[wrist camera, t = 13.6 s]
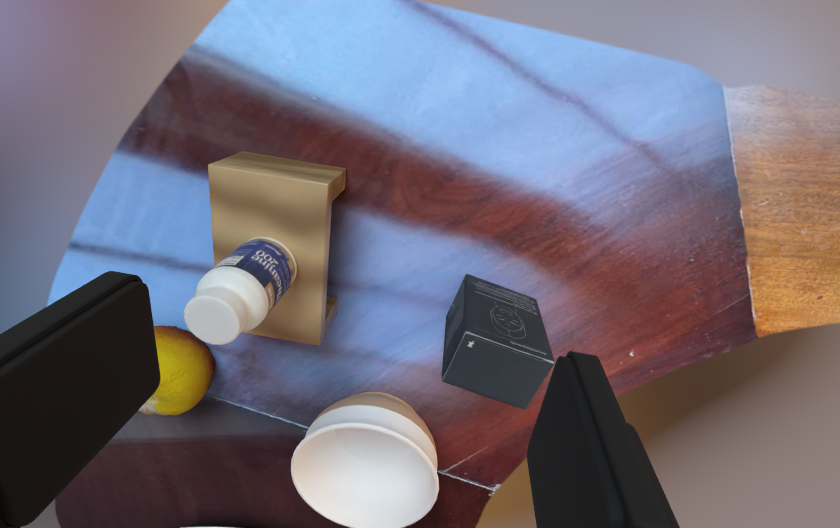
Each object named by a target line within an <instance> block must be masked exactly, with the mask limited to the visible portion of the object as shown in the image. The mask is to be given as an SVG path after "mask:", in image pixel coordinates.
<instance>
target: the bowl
mask: <svg viewBox="0 0 840 528" xmlns="http://www.w3.org/2000/svg"><path fill="white" fill-rule="evenodd" d="M291 474H292V478H293V482H294V485H295V487H296V489H297V491H298V493H299V494H300V495H301V497H302V498H303V499H304V500H305V502H306V503H307V504H308V505H310V506H311V507H312V508H313V509H314V510H315V511H317V512H318V513H320V514H321V515H323V516H324V517H326V518H328V519H330V520H332V521H334V522H336V523H338V524H341V525H344V526H347V527H350V528H403V527H406V526H408V525H411V524H413V523H415V522H417V521H418V520H420V519H421V518H423V517H424V516H425V515H426V514H427V513H428V512H429V511H430V510H431V508H432V507H433V505H434V503H435V501H436V500H437V496H438V492H439V479H438V476H437V455H436V446H435V443H434V439H433V437H432V435H431V433H430V431H429V430H428V428H427V426H426V425H425V423H424V421H423V420H422V419H421V418H420V417H419V416H418V414H417V413H416V412H415V411H414V410H413V409H412V408H411V407H410V406H409V405H408V404H407V403H406V402H404V401H403V400H401V399H399V398H397V397H395V396H393V395H390V394H387V393H382V392H362V393H358V394H355V395H352V396H350V397H347V398H344V399H341V400H339V401H338V402H336V403H334V404H332V405H331V406H329V407H327V408H326V409H325V410H323V411H322V412H321V413H320V414H319V415H318V416H317V418H316V419H315V421H314V422H313V423H312V425H311V426H310V428H309V429H308V430H307V433H306V436H305V439H303V440H302V441H301V442H300V444H299V445H298V446H297V448H296V449H295V451H294V454H293V457H292V460H291Z"/></svg>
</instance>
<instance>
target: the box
mask: <svg viewBox="0 0 840 528" xmlns="http://www.w3.org/2000/svg"><path fill="white" fill-rule="evenodd" d="M553 365H554V359H553V355H552V352H551V348H550V345H549V342H548V338H547V335H546V331H545V328H544V325H543V321H542V318H541V315H540V311H539V307H538V304H537V301H536V299H534V298H531V297H528V296H526V295H523V294H520V293H517V292H515V291H512V290H509V289H506V288H504V287H501V286H498V285H496V284H493V283H490V282H487V281H484V280H482V279H479V278H476V277H474V276H471V275H468V274H466V275H465V277H464V280H463V282H462V284H461V286H460V288H459V290H458V293H457V295H456V297H455V299H454V301H453V303H452V306H451V308H450V310H449V312H448V314H447V317H446V328H445V341H444V355H443V368H442V381H443V382H445V383H448V384H451V385H454V386H457V387H460V388H463V389H466V390H469V391H472V392H475V393H477V394H480V395H483V396H486V397H489V398H492V399H495V400H498V401H501V402H504V403H507V404H509V405H512V406H515V407H518V408H521V409H524V410H525V409H526V408H527V406H528V404H529V403H530V401H531V400H532V398H533V397H534V395H535V393H536V392H537V390H538V389H539V387H540V385H541V384H542V382H543V381H544V379H545V377H546V376H547V374H548V373H549V371H550V370H551V368H552V367H553Z"/></svg>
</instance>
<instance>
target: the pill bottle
mask: <svg viewBox="0 0 840 528" xmlns="http://www.w3.org/2000/svg"><path fill="white" fill-rule="evenodd" d="M296 273H297V264H296V261H295V258H294V256H293V254H292V253H291V251H290V250H289V249H288V248H287V247H286V246H285V245H284V244H283V243H281V242H280V241H278V240H275V239H273V238H269V237H255V238H252V239H250V240H248V241H246V242H245V243H244V244H243V245H241V246H240V247H238V248H237V249H236V250H235V251H233V252H232V253H231V254H230V255H228V256H227V257H226V258H225V259H223V260H222V261H221V262H220V263H218V264H217V265H216V266H215V267H214V268H212V269H211V270H210V271H209V272H207V273H206V274H205V275H204V276H203V277H202V278H201V280H200V281H199V283H198V285H197V288H196V295H195V296H194V297H193V298H192V299H191V300H190V301H189V302H188V304H187V305H186V307H185V310H184V319H185V322H186V325H187V327H188V328H189V330H190V331H191V332H192V333H193V334H194V335H195V336H196V337H197V338H199V339H200V340H202V341H204V342H206V343H209V344H213V345H224V344H228V343H230V342H232V341H233V340H234V339H236V337H237V336H238V335H239V334H240V333H241V332H246V331H249V330H252V329H254V328H255V327H257V326H258V325H259V324H260V323H261V322H262V321H263V320H264V319H265V317H266V316H267V315H268V313H269V312H270V311H271V310H272V308H273V307H274V306H275V304H276V303H277V302H278V301H279V299H280V298H281V297H282V296H283V294H284V293H285V292H286V291H287V290H288V288H289V287H290V286H291V284H292V283H293V281H294V279H295V277H296Z"/></svg>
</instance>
